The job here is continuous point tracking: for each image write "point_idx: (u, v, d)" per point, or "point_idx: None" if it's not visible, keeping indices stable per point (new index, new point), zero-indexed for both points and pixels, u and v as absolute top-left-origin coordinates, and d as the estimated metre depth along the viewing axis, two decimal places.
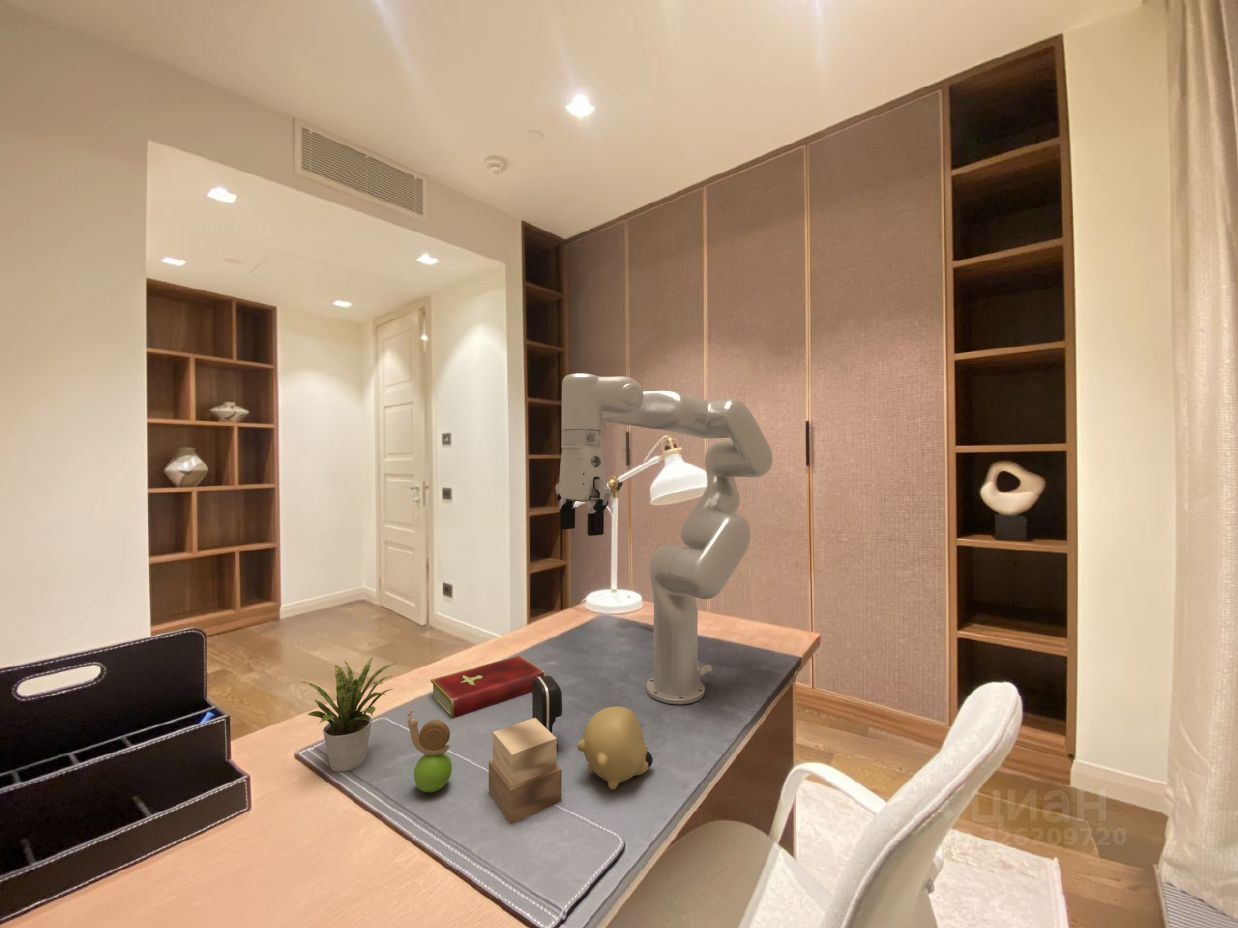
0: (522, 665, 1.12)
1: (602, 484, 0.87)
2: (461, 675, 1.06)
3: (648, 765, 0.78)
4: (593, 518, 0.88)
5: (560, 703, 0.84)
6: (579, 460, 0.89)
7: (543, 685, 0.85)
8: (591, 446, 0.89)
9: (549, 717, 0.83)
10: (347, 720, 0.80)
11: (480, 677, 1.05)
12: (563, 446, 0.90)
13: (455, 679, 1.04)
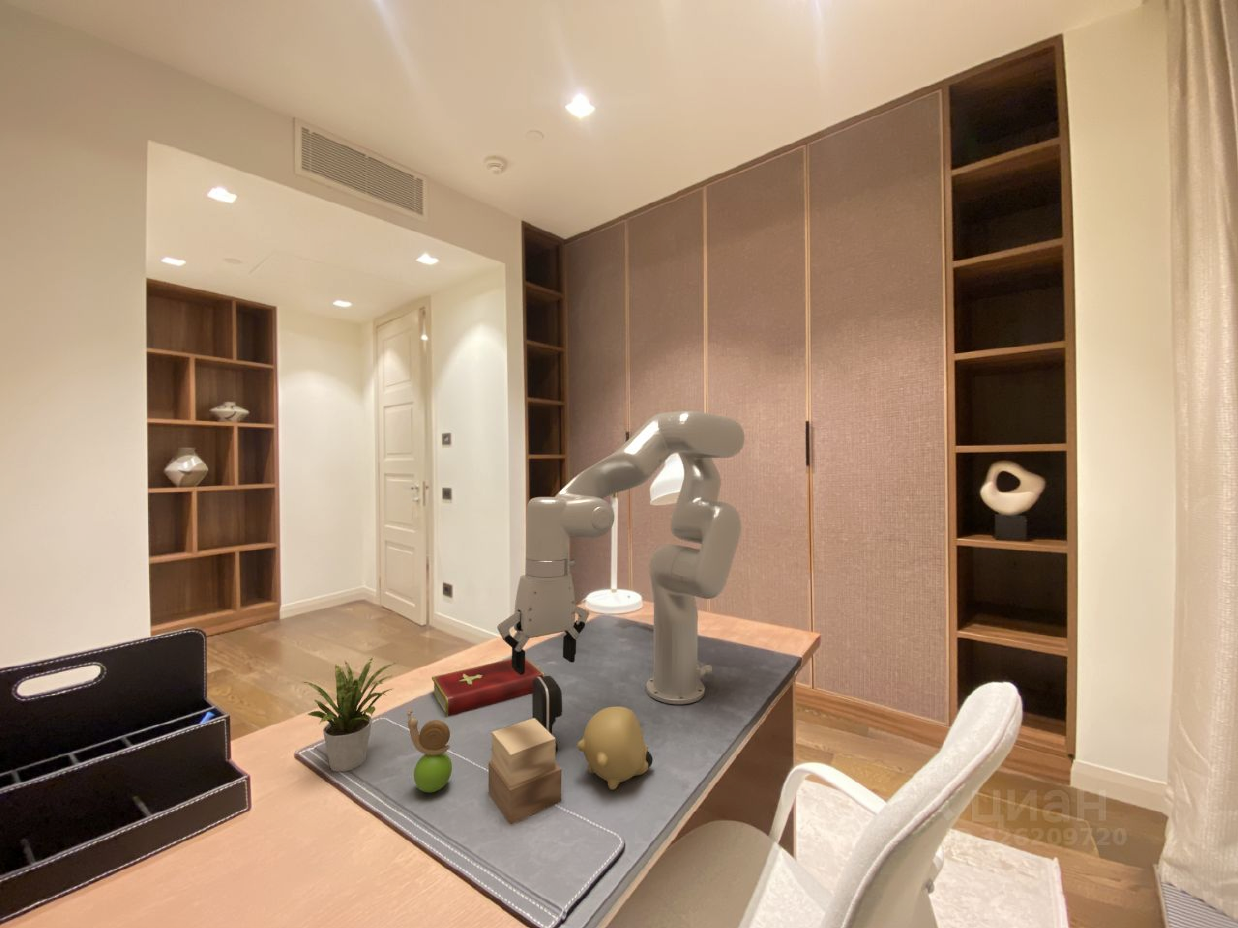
0: None
1: (579, 607, 0.90)
2: (461, 674, 1.07)
3: (648, 765, 0.78)
4: None
5: (560, 703, 0.84)
6: (568, 589, 0.86)
7: (543, 685, 0.85)
8: None
9: (549, 717, 0.83)
10: (347, 720, 0.80)
11: (479, 676, 1.05)
12: (555, 578, 0.83)
13: (455, 677, 1.05)
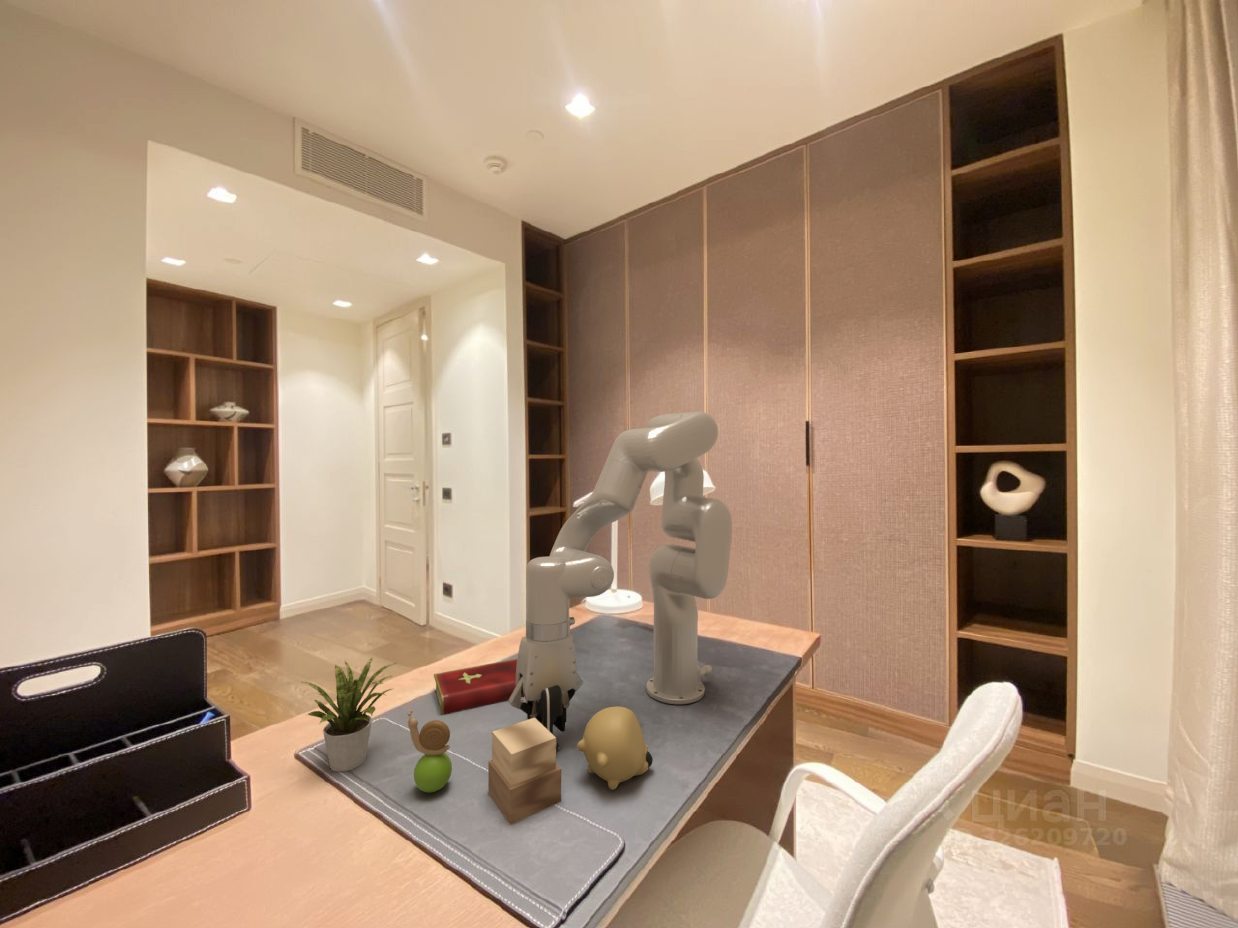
0: None
1: (576, 673, 0.90)
2: (463, 672, 1.08)
3: (648, 765, 0.78)
4: None
5: (560, 702, 0.84)
6: (569, 650, 0.86)
7: None
8: None
9: (550, 717, 0.83)
10: (347, 720, 0.80)
11: (479, 676, 1.05)
12: (555, 642, 0.83)
13: (456, 676, 1.06)
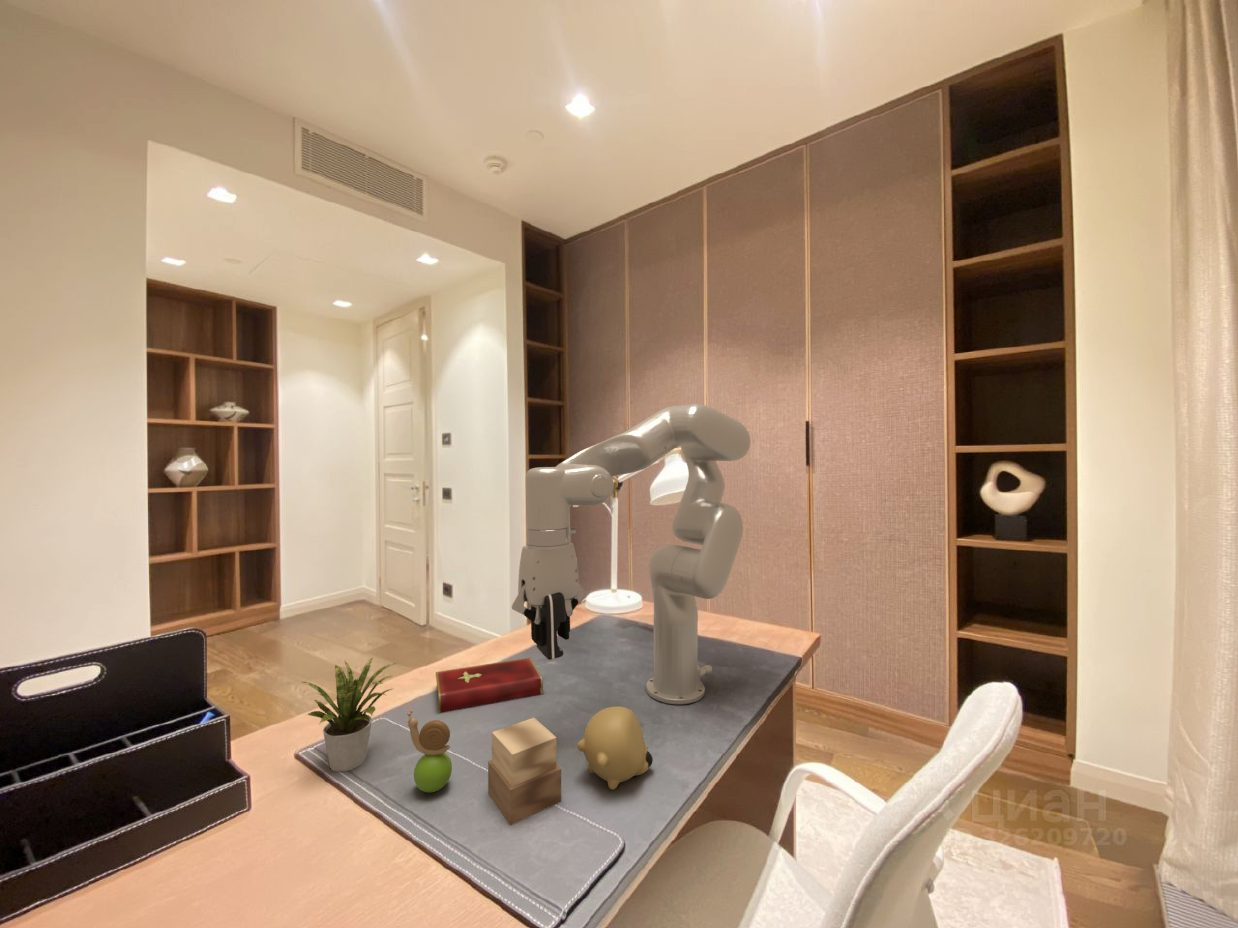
0: (525, 668, 1.10)
1: (579, 584, 0.90)
2: (464, 671, 1.08)
3: (648, 765, 0.78)
4: None
5: (564, 609, 0.85)
6: (570, 558, 0.86)
7: None
8: None
9: (554, 622, 0.83)
10: (347, 720, 0.80)
11: (478, 675, 1.06)
12: (557, 547, 0.83)
13: (457, 674, 1.07)
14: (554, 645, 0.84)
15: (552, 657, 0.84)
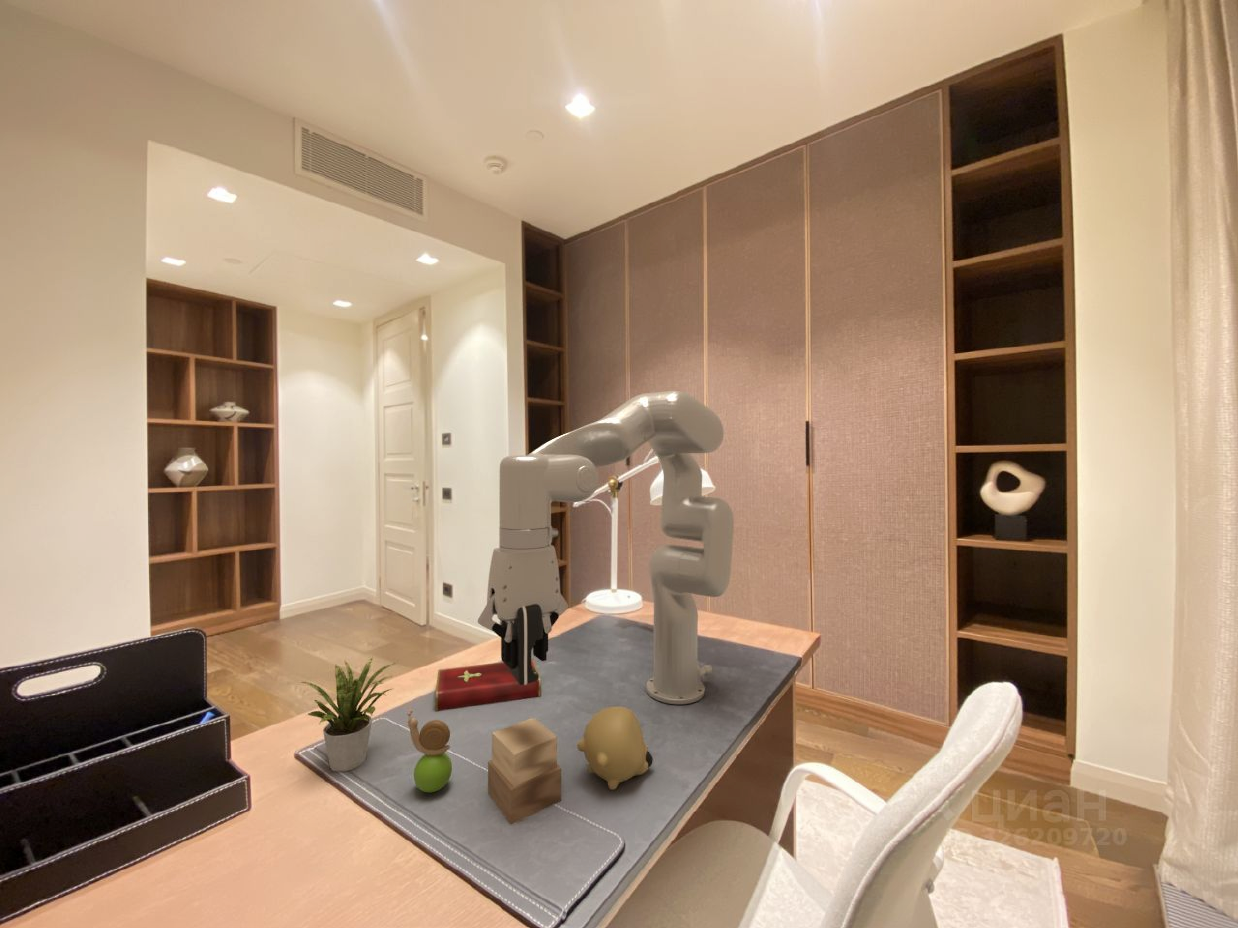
0: None
1: None
2: (465, 670, 1.09)
3: (648, 765, 0.78)
4: None
5: (540, 624, 0.71)
6: (550, 564, 0.73)
7: None
8: None
9: (527, 639, 0.70)
10: (347, 720, 0.80)
11: (478, 675, 1.06)
12: (534, 550, 0.70)
13: (458, 673, 1.07)
14: (527, 667, 0.70)
15: (524, 682, 0.70)
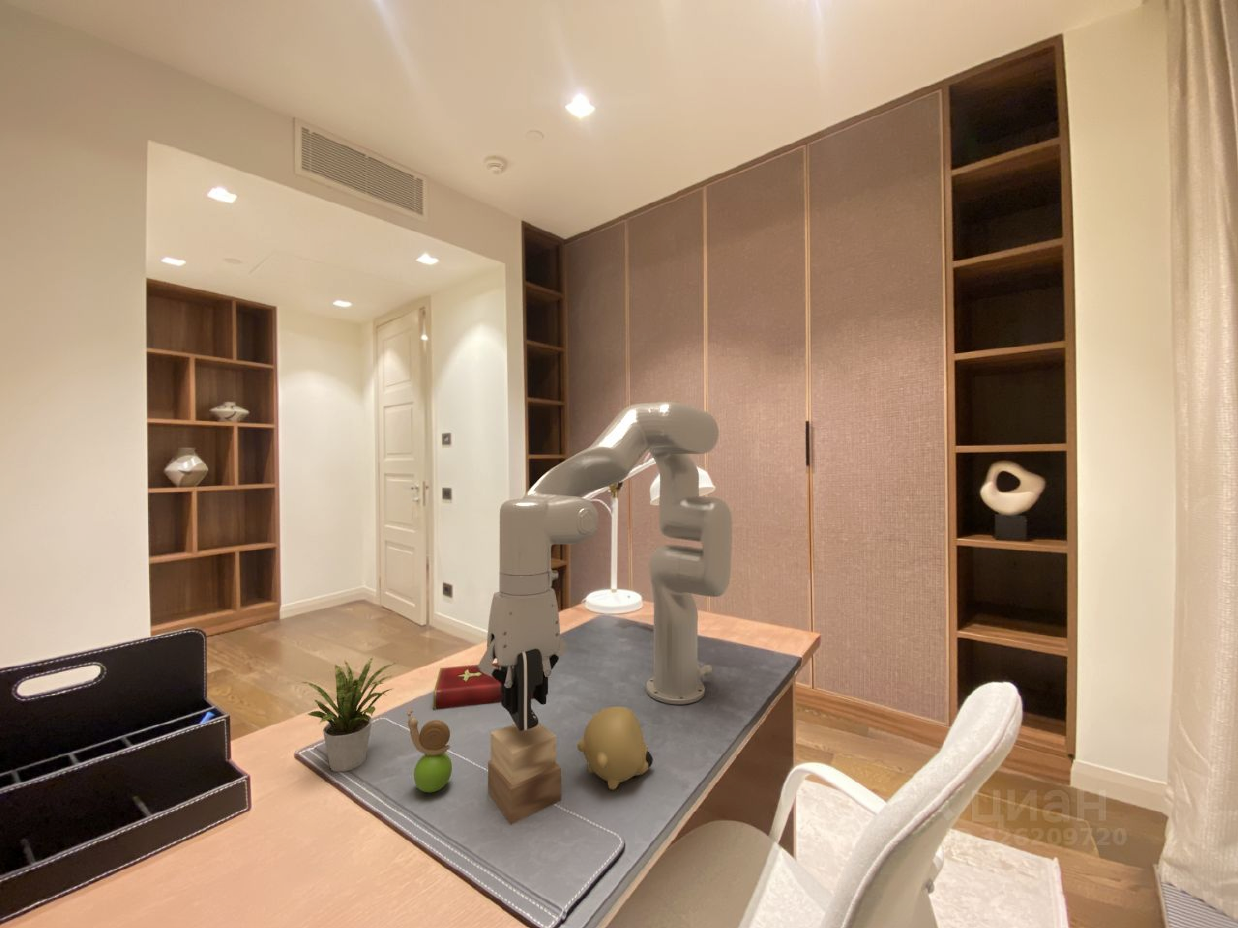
0: None
1: None
2: (466, 669, 1.09)
3: (648, 765, 0.78)
4: None
5: (540, 669, 0.71)
6: (550, 607, 0.73)
7: None
8: None
9: (527, 685, 0.70)
10: (347, 720, 0.80)
11: (478, 674, 1.06)
12: (534, 596, 0.70)
13: (458, 672, 1.08)
14: (527, 713, 0.70)
15: (524, 728, 0.70)
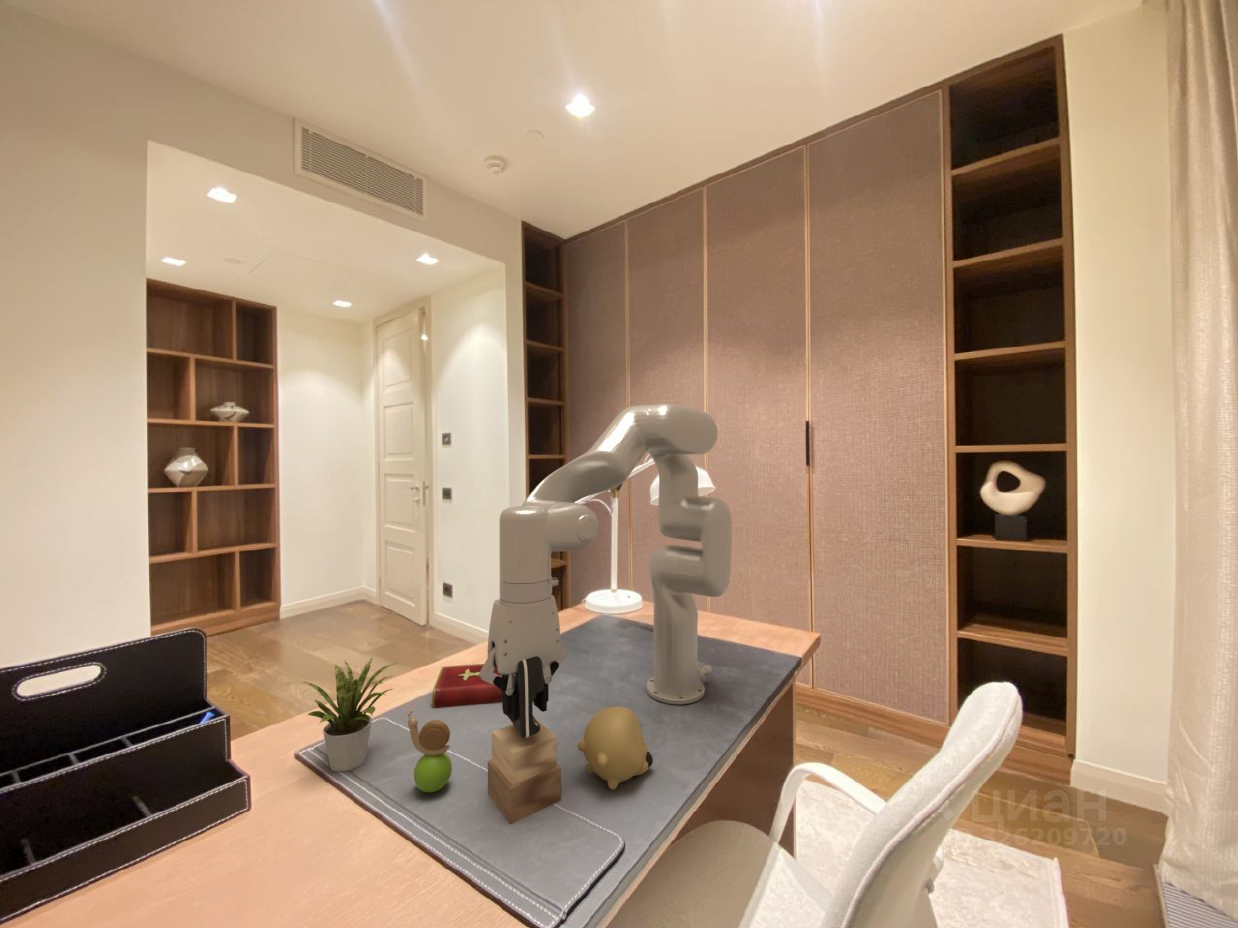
0: None
1: (561, 644, 0.77)
2: (467, 668, 1.10)
3: (648, 765, 0.78)
4: None
5: (541, 676, 0.71)
6: (551, 615, 0.73)
7: None
8: None
9: (529, 692, 0.70)
10: (347, 720, 0.80)
11: (478, 674, 1.06)
12: (534, 604, 0.70)
13: (459, 671, 1.08)
14: (529, 720, 0.70)
15: (526, 735, 0.70)
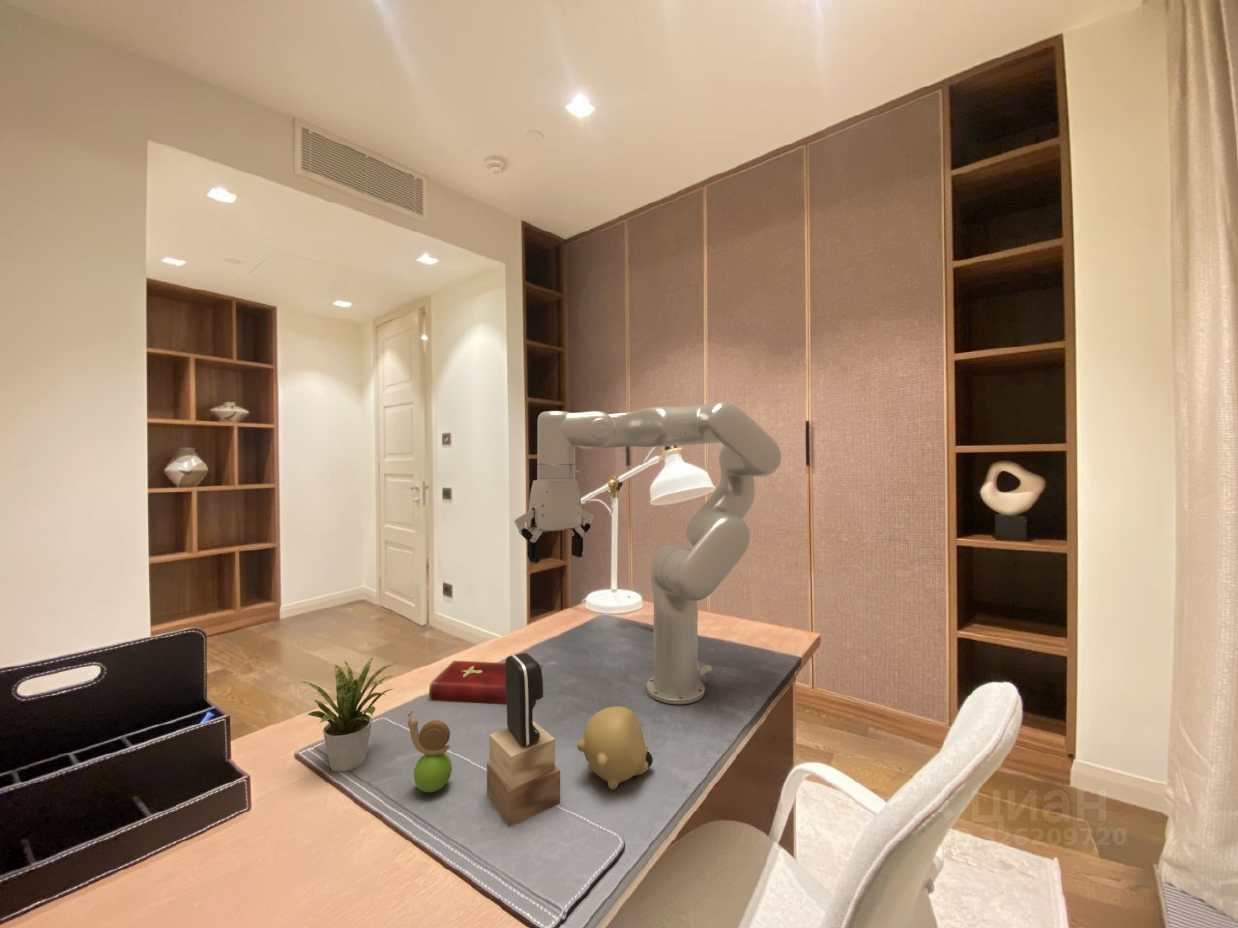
0: None
1: (585, 511, 1.02)
2: (474, 665, 1.11)
3: (648, 765, 0.78)
4: None
5: (541, 683, 0.71)
6: (575, 492, 0.98)
7: (519, 663, 0.71)
8: None
9: (529, 700, 0.70)
10: (347, 720, 0.80)
11: (478, 672, 1.07)
12: (563, 479, 0.95)
13: (465, 667, 1.11)
14: (529, 728, 0.70)
15: (526, 743, 0.70)
